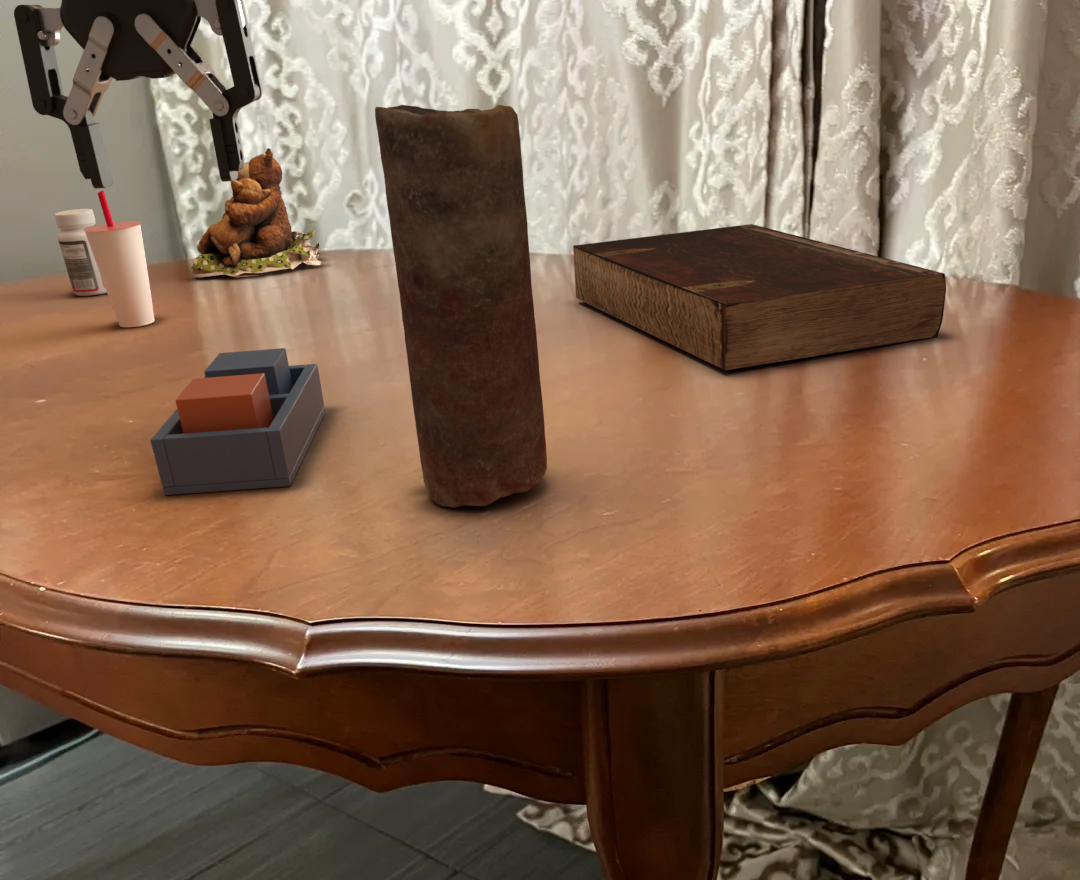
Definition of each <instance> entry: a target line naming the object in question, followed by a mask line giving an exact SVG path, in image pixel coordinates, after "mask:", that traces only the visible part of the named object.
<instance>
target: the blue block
mask: <svg viewBox="0 0 1080 880" xmlns="http://www.w3.org/2000/svg"><path fill="white" fill-rule="evenodd" d="M289 366H290V365H289V360H288V353H287V349H286V347H282V348H281V347H280V348H269V349H267V348H266V349H257V350H256V349H255V350H244V351H243V350H242V351H241V350H240V351H230V352H219V353H218V354H217V356H215V358H214V359H213V360H212V362H211V363H210V364H209V365H208V366H207V367H206V369H205V370H204V377H206V378H210V377H223V376H235V375H248V374H261V373H264V374H265V379H266V384H267V389H268V393H269V395H275V394H289V393H290V391H291V390H292V388H293V385H292V380H291V375H290V370H289Z"/></svg>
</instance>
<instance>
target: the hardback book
mask: <svg viewBox="0 0 1080 880" xmlns="http://www.w3.org/2000/svg"><path fill="white" fill-rule="evenodd" d="M572 249H573V250H572V251H573V269H574V285H575V299H577V300H579V301H581V302H583V303H585V304H587V305H590V306H592V307H594V308H595V309H597V310H600V311H602V312H604V313H606V314H608V315H610V316H612V317H614V318H616V319H619V320H621V321H622V322H625V323H626V324H629V325H631V326H633V327H635V328H637V329H639V330H641V331H643V332H645V333H647V334H649V335H651V336H653V337H655V338H657V339H660V340H662V341H664V342H666V343H667V344H670V345H672V346H673V347H676V348H678V349H679V350H682V351H684V352H687V353H688V354H690V355H693V356H695V357H697V358H699V359H700V360H703V361H705V362H707V363H709V364H711V365H713V366H715V367H717V368H719V369H721V370H724V371H729V370H737V369H742V368H743V369H744V368H749V367H755V366H760V365H768V364H774V363H778V362H779V363H780V362H786V361H787V362H788V361H792V360H798V359H805V358H810V357H818V356H824V355H829V354H836V353H842V352H849V351H854V350H861V349H868V348H873V347H880V346H886V345H887V346H888V345H893V344H898V343H899V344H900V343H905V342H911V341H918V340H925V339H931V338H937V337H938V336H939V333H940V330H941V328H942V324H943V321H944V311H945V303H946V294H947V282H946V273H945V272H941V271H937V270H932V269H929V268H926V267H922V266H917V265H913V264H909V263H906V262H902V261H898V260H894V259H889V258H886V257H882V256H878V255H874V254H870V253H867V252H862V251H859V250H854V249H851V248H847V247H843V246H839V245H835V244H831V243H828V242H823V241H819V240H816V239H811V238H807V237H804V236H799V235H795V234H792V233H789V232H785V231H781V230H776V229H772V228H769V227H765V226H761V225H757V224H754V223H749V224H742V225H733V226H732V225H731V226H725V227H724V226H723V227H716V228H708V229H700V230H691V231H684V232H683V231H682V232H673V233H666V234H657V235H649V236H648V235H647V236H641V237H633V238H625V239H616V240H607V241H600V242H592V243H582V244H576V245H575V244H574V245H573V246H572Z"/></svg>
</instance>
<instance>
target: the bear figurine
mask: <svg viewBox="0 0 1080 880" xmlns="http://www.w3.org/2000/svg"><path fill="white" fill-rule="evenodd" d="M283 174H284V173H283V170H282V167H281V164H280V163H279V162H278V161H277V159H275V158H274V154H273V151H272V150H271V148H266V151H264V153H260V154H259V155H256V156H254V157H252V158H250V160H249V161H246V162H244V166H243V169H241V170H239V171H238V178H237V179H236V180H234V181H230V187H231V191H232V192H231V193H232V196H231V197H230V199H227V200H225V202H224V213H223V215H222V218H221V220H219V221H217V222H216V223H213V224H211V225H209V227H207V229H206V230H205V232H204V233H203V235H202V237H201V238H200V240H199V241H198V244H197V246H196V249H197V252H198V253H199V255H198V256H197V257H196V258H195V259H194V260H193V264H192V266H191V267H190V269H191V271H190V272H191V274H192V275H193V276H194V277H196V278H205V277H207V278H208V277H213V276H215V277H216V276H220V275H221V276H222V275H226V276H229V277H233V278H236V279H237V278H246V277H247V278H248V277H249V278H250V277H258V276H259V274H262V273H268V272H269V273H270V272H275V271H282V270H287V269H291V270H295V268H297V267H298V266H299V265H300V264H302V263H304V264H306V265H309V266H311V265H312V266H320V265H322V263H323V262H322V261H320V260H318V258H319V256H320V254H321V251H320V250H319V249H320V248H319V247H320V244H321V243H320V241H318V242H317V244H315V245H313V244H311V243H310V242H308V241H309V240H311V239H312V238H313V235H314V233H315V230H310V231H307V232H303V231H302V232H300V231H295V230H294V231H292V225H291V223H290V220H289V214H288V211H287V206H286V203H285V201H284V199H283V197H282V190H281V186H280V184H281V182H282V181H283ZM243 274H250V275H243ZM251 274H253V275H251ZM256 274H257V275H256Z"/></svg>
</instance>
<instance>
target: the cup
mask: <svg viewBox="0 0 1080 880" xmlns="http://www.w3.org/2000/svg"><path fill="white" fill-rule="evenodd" d="M97 196H98V200H99V203H100V207H101V210H102V213H103V217H104V220H105V223H100V224H94V225H95V226H90V227H87V228H85V229H83V231H85V233H86V236H87V239H88V242H89V244H90V247H91V250H92V253H93V255H94V258H95V261H96V264H97V266H98V269H99V272H100V275H101V277H102V280H103V283H104V286H105V288H106V291H107V293H106V294H107V297H108V299H109V302H110V304H111V307H112V309H113V312H114V315H115V318H116V321H117V323H118V326H119V327H121V328H137V327H143V326H148V325H151V324H152V323H154V322H155V321H156V319H155V312H154V307H153V297H152V292H151V285H150V280H149V277H150V276H149V272H148V265H147V257H146V253H145V252H146V251H145V245H144V240H143V232H142V225H141V224H142V221H137V220H136V221H134V220H129V221H128V220H127V221H125V220H124V221H116V222H115V221H113V217H112V214H111V211H110V207H109V204H108V200H107V197H106V193H105V191H104V190H100V191H99V192H98V193H97Z"/></svg>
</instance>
